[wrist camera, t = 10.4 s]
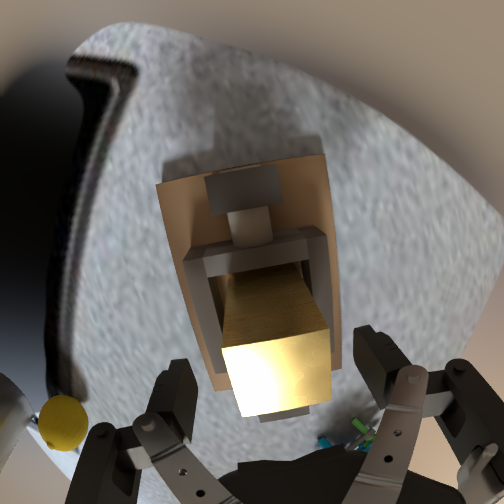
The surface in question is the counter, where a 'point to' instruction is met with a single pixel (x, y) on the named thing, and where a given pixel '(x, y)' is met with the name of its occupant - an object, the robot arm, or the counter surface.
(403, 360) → the robot arm
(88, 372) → the counter surface
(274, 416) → the shaft rig
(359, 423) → the blue-green animal figure
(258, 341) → the block
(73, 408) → the lemon
